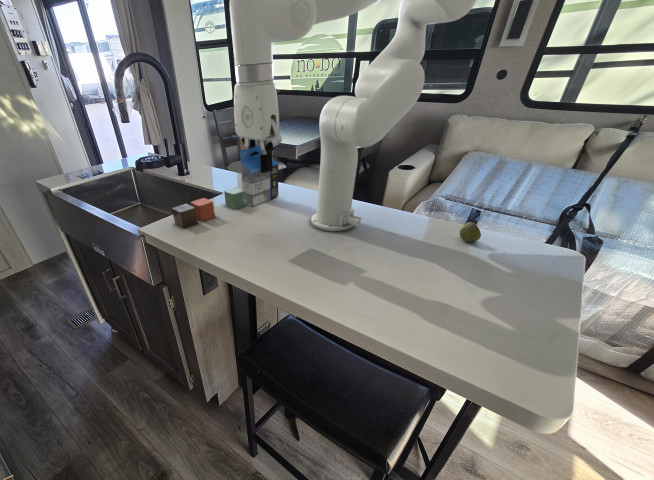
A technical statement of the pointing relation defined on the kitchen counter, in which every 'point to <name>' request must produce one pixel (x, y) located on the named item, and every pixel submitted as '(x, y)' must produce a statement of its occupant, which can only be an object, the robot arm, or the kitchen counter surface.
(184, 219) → the block
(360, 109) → the robot arm
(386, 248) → the kitchen counter surface
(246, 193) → the tape cartridge
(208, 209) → the block
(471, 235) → the lime
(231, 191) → the block
